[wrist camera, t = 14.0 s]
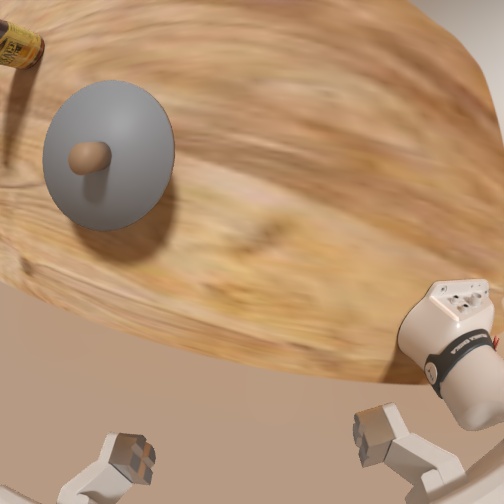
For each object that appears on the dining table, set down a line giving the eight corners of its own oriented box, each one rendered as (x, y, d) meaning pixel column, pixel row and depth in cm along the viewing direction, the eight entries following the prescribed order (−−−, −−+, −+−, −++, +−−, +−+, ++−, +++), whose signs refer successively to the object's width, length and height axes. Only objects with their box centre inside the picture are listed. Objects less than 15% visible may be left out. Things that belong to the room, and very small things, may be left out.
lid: (161, 61, 25) (146, 49, 20) (189, 212, 31) (180, 225, 26) (38, 113, 25) (13, 112, 21) (66, 240, 31) (44, 255, 27)
